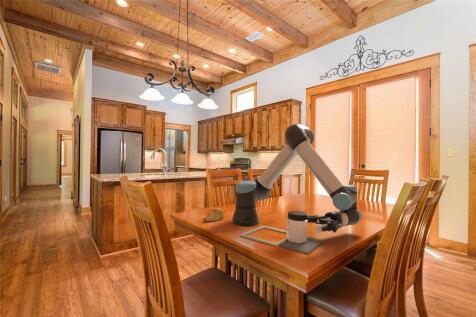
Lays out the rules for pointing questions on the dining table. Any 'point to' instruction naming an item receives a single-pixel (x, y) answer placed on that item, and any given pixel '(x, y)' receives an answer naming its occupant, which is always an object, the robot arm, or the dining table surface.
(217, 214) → the croissant
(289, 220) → the jar
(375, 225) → the dining table surface
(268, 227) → the frame
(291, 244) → the mat
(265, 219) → the dining table surface
